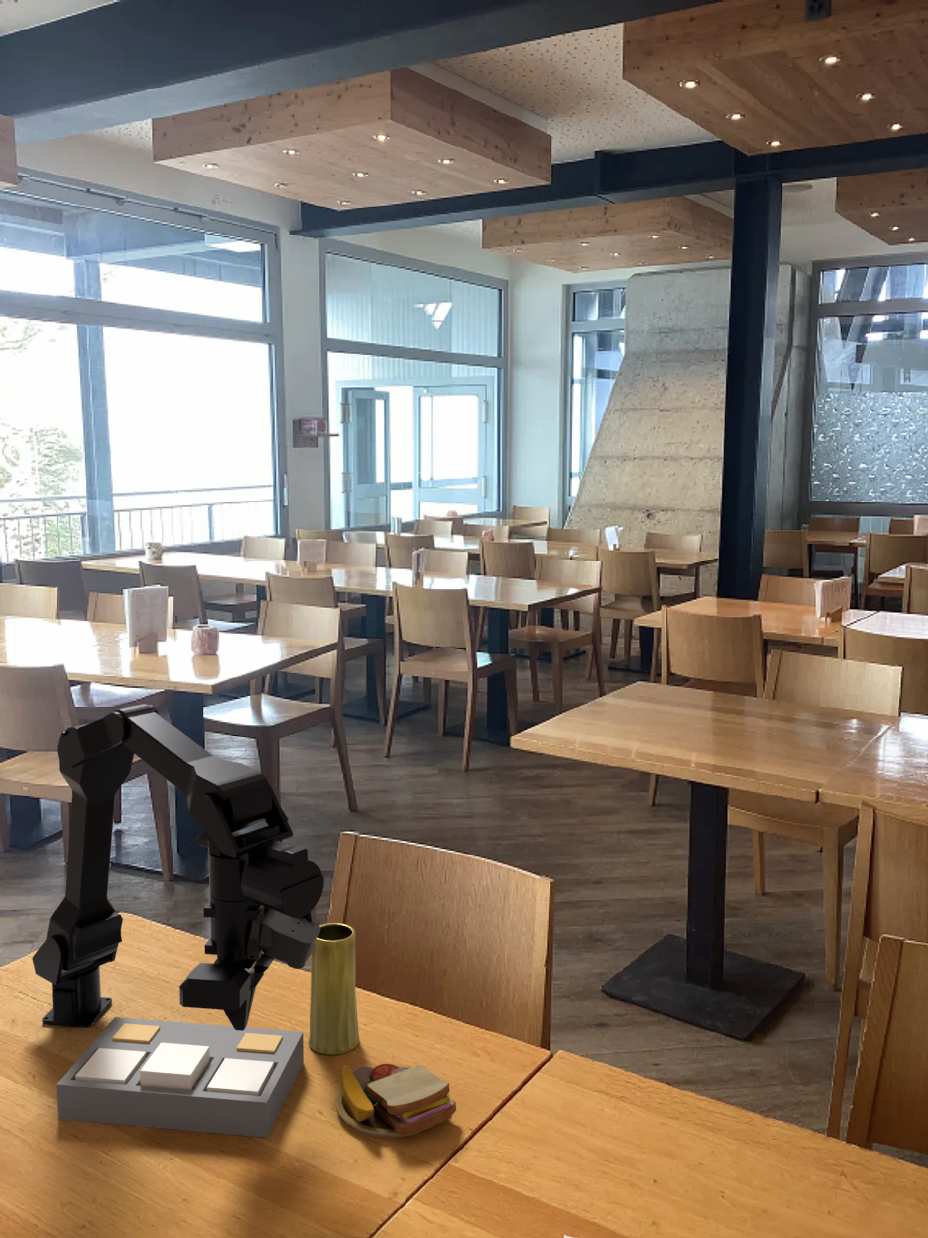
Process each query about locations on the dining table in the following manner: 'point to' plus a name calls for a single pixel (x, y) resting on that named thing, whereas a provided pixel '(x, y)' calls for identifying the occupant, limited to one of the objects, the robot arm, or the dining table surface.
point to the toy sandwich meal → (393, 1100)
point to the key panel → (177, 1104)
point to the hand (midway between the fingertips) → (240, 1028)
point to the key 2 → (241, 1077)
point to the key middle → (175, 1066)
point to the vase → (333, 991)
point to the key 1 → (111, 1066)
